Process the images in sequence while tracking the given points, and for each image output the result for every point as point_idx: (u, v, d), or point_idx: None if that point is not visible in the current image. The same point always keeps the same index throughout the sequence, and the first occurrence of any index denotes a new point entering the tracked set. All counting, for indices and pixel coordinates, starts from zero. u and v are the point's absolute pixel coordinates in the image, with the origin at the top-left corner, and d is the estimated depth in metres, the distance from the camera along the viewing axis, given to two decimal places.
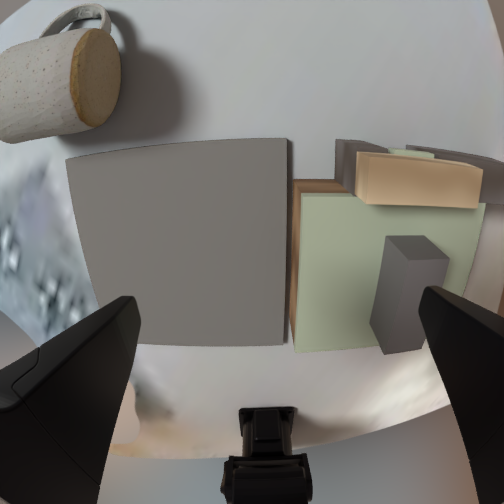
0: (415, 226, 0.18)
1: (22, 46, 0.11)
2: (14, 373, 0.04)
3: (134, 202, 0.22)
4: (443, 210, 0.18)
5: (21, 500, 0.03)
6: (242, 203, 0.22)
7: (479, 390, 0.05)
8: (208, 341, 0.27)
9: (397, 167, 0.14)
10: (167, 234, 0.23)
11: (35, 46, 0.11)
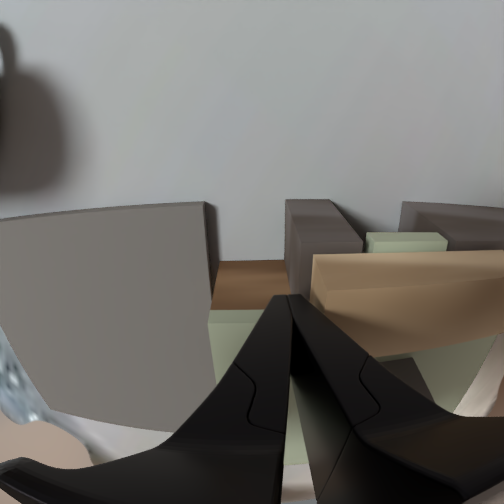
0: None
1: None
2: (233, 404, 0.04)
3: (31, 283, 0.15)
4: None
5: None
6: (150, 295, 0.15)
7: (313, 426, 0.06)
8: (145, 425, 0.21)
9: (385, 302, 0.07)
10: (72, 322, 0.16)
11: None
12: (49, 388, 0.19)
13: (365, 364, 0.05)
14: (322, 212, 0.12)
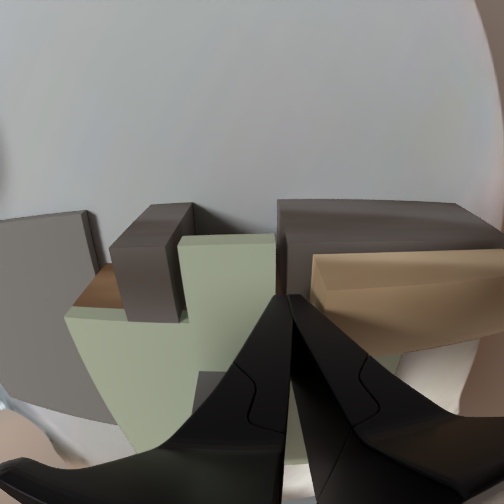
0: None
1: None
2: (234, 404, 0.04)
3: None
4: None
5: None
6: (57, 292, 0.15)
7: (312, 426, 0.06)
8: (82, 414, 0.21)
9: (385, 301, 0.07)
10: (10, 315, 0.16)
11: None
12: (5, 376, 0.20)
13: (365, 364, 0.05)
14: (166, 216, 0.12)
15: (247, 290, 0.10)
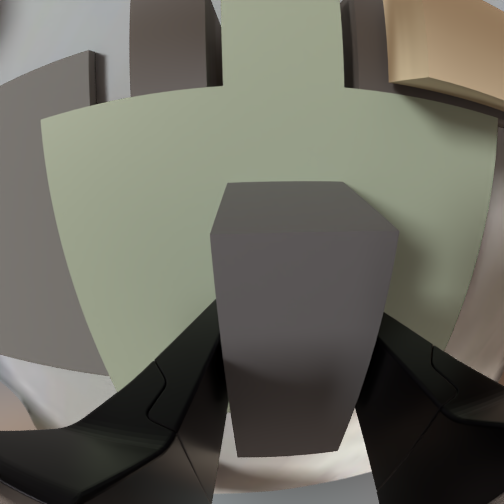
0: (313, 157, 0.07)
1: None
2: (139, 398, 0.04)
3: None
4: (391, 118, 0.07)
5: None
6: (40, 162, 0.11)
7: (380, 416, 0.05)
8: (59, 362, 0.17)
9: (479, 13, 0.04)
10: None
11: None
12: None
13: (433, 353, 0.05)
14: None
15: (307, 35, 0.06)
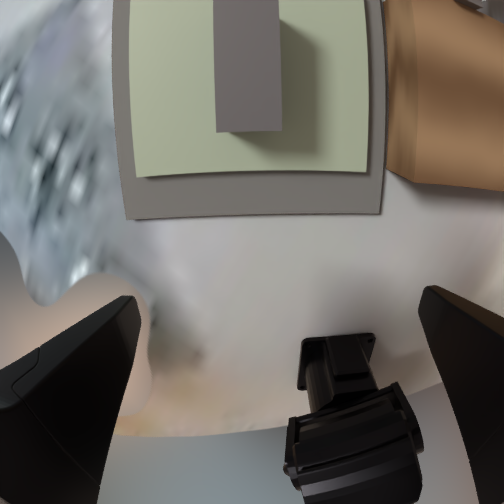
0: None
1: None
2: (14, 373, 0.04)
3: None
4: None
5: (21, 500, 0.03)
6: None
7: (479, 390, 0.05)
8: (279, 203, 0.19)
9: None
10: None
11: None
12: None
13: None
14: None
15: None
